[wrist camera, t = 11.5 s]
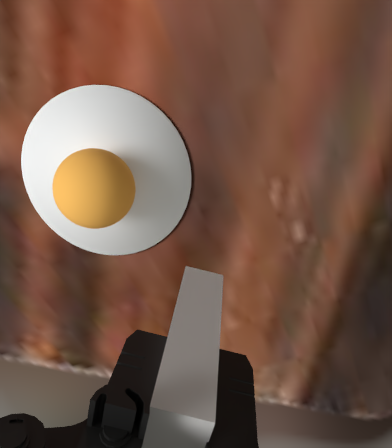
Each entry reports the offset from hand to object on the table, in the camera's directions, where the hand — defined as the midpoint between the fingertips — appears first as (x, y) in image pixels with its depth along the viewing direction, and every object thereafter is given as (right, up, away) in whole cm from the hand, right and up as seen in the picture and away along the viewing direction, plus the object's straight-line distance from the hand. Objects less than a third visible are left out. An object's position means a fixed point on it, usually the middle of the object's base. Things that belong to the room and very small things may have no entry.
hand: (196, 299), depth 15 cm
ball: (-7, +5, +11) cm, 14 cm away
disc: (-7, +7, +13) cm, 16 cm away
